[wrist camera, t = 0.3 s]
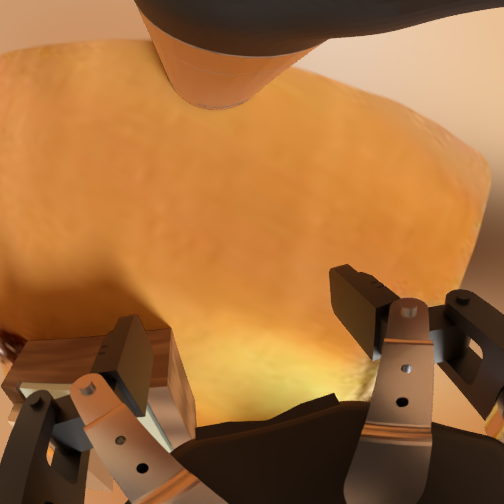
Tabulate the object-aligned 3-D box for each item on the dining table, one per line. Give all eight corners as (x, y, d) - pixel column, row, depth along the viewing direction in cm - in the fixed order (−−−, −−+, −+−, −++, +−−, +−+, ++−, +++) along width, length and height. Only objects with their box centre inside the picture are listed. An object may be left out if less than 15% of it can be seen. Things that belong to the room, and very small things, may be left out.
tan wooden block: (15, 402, 21) (6, 420, 19) (30, 404, 22) (23, 423, 19) (36, 429, 23) (30, 446, 20) (52, 431, 24) (46, 449, 21)
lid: (24, 377, 23) (-2, 434, 15) (138, 375, 25) (127, 451, 17) (73, 441, 27) (62, 493, 19) (173, 443, 29) (175, 503, 21)
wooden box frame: (27, 340, 29) (0, 386, 20) (171, 327, 32) (167, 386, 23) (89, 434, 37) (81, 477, 28) (206, 430, 39) (212, 478, 31)
